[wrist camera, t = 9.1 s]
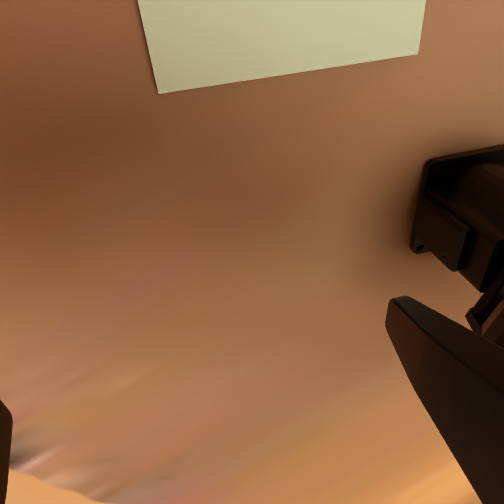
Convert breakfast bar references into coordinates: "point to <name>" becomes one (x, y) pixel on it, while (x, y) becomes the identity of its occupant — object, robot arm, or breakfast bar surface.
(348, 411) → the breakfast bar surface
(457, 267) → the robot arm
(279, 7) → the mat
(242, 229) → the breakfast bar surface
